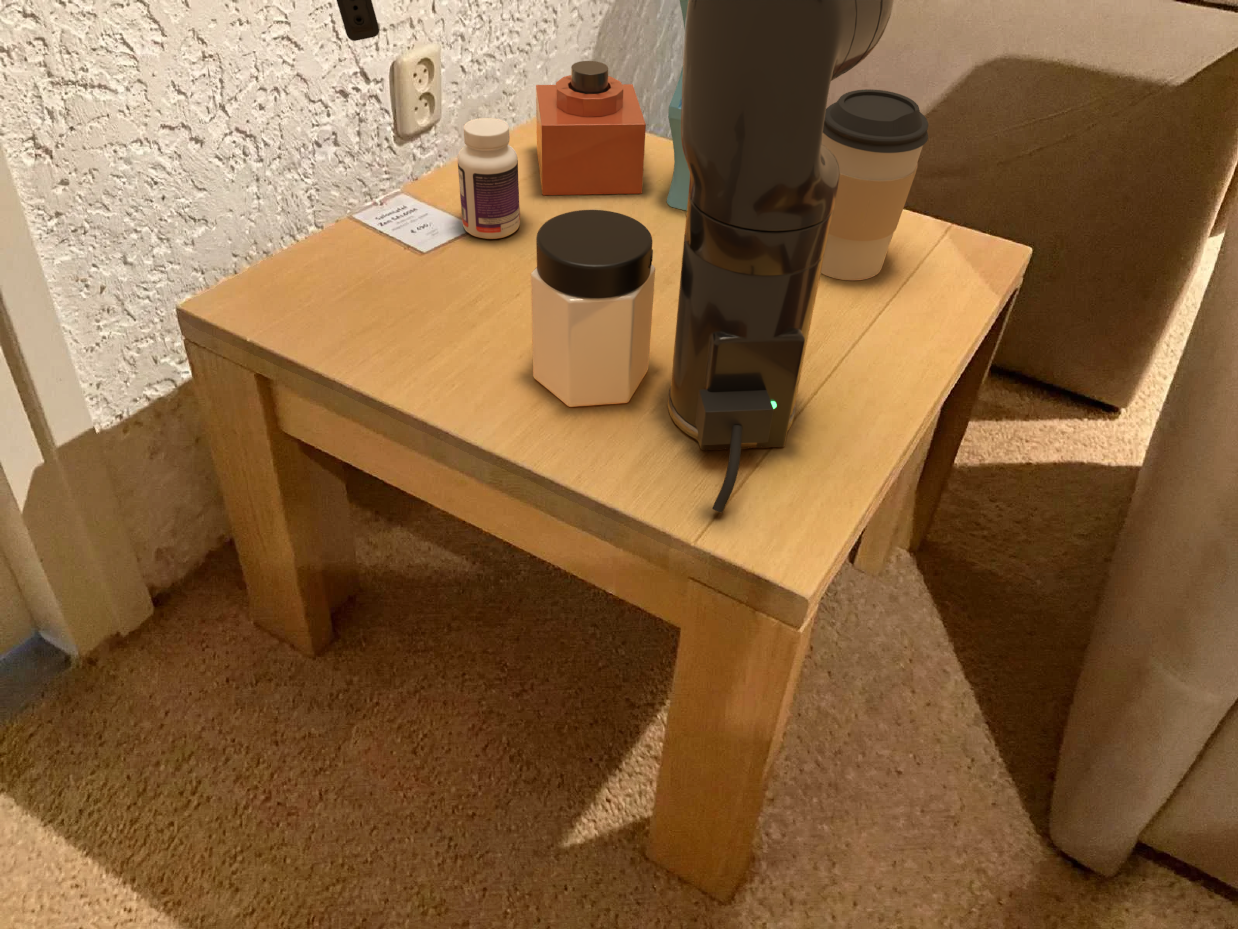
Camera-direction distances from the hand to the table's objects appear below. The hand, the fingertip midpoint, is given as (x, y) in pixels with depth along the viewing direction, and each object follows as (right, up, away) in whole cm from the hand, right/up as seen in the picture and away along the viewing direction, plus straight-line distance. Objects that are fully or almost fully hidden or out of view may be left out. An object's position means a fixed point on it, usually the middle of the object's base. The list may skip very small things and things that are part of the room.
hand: (361, 17), depth 71 cm
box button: (+15, +5, +27) cm, 31 cm away
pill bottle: (+6, -10, +23) cm, 26 cm away
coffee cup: (+39, -13, +21) cm, 46 cm away
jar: (+16, -25, +6) cm, 31 cm away
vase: (+28, -5, +29) cm, 41 cm away
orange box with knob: (+15, -2, +32) cm, 36 cm away
